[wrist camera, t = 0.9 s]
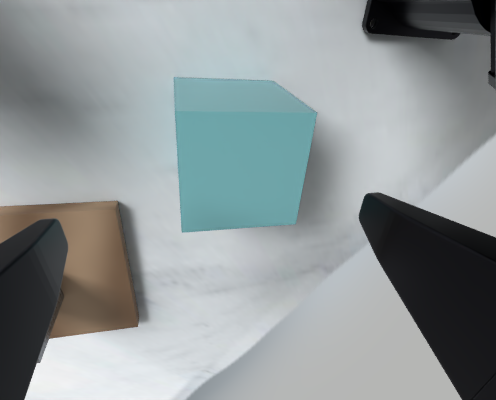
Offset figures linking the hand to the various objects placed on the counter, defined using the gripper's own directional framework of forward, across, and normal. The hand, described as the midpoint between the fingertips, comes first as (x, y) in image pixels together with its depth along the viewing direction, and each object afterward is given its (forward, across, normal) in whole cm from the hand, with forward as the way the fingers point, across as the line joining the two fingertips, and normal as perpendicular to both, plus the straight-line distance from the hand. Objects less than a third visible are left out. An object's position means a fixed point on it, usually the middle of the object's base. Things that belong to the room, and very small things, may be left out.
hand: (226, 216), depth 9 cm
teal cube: (+11, -1, +1) cm, 11 cm away
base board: (+11, +12, +12) cm, 20 cm away
